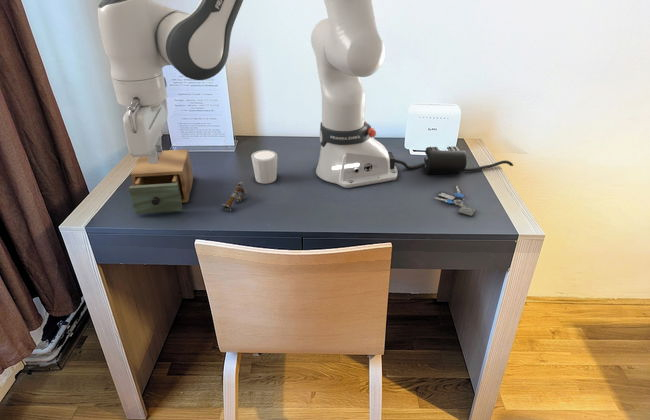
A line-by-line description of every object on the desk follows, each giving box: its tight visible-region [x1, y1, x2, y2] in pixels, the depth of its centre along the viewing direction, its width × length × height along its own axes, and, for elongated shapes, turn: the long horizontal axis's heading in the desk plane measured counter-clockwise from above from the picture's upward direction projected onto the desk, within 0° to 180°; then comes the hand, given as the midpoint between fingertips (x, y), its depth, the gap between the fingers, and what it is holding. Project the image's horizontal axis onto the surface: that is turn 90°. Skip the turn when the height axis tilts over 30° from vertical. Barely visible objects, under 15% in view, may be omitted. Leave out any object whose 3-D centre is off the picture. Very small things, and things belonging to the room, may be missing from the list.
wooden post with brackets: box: [222, 181, 247, 212], centre depth 105 cm, size 2×8×4 cm, turn 155°
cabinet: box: [130, 148, 194, 204], centre depth 108 cm, size 13×12×9 cm
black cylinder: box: [423, 146, 468, 175], centre depth 118 cm, size 10×7×7 cm
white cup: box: [250, 149, 278, 184], centre depth 114 cm, size 7×7×7 cm
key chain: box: [434, 185, 476, 217], centre depth 106 cm, size 14×8×1 cm, turn 6°
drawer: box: [128, 174, 184, 215], centre depth 103 cm, size 13×10×7 cm
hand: (156, 158), depth 87 cm, fingers open, 3 cm apart
